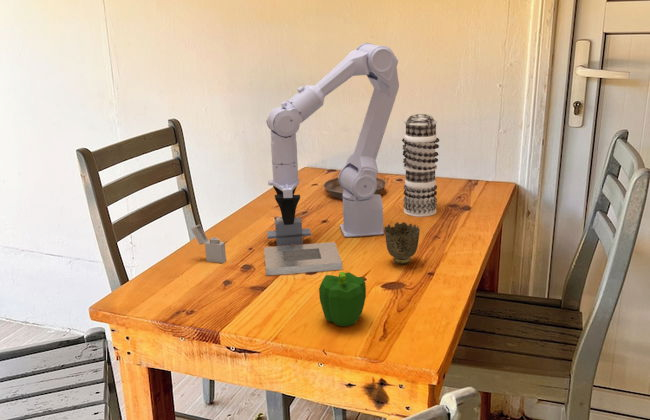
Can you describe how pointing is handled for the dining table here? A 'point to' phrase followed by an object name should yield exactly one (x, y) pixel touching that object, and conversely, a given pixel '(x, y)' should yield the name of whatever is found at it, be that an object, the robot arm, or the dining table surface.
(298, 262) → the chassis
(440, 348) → the dining table surface
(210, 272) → the dining table surface
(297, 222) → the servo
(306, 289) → the dining table surface
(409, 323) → the dining table surface
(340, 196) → the plant saucer
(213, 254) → the lighter
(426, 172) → the decorative candle
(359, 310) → the bell pepper
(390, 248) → the cup
